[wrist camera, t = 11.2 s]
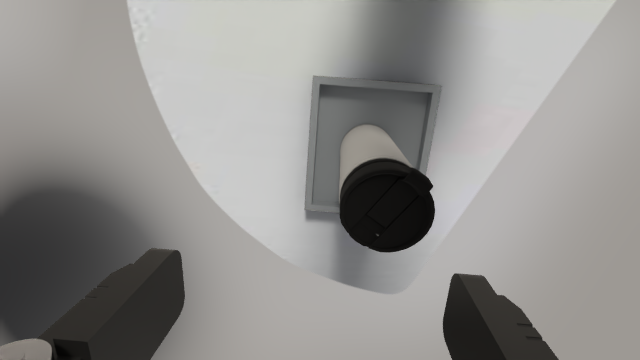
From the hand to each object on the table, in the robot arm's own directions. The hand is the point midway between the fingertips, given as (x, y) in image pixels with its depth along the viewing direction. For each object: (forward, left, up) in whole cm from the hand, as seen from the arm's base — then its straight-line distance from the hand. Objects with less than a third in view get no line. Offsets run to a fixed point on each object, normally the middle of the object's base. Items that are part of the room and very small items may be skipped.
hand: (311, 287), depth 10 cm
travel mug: (+2, +4, -32) cm, 32 cm away
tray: (+2, +4, -32) cm, 32 cm away
